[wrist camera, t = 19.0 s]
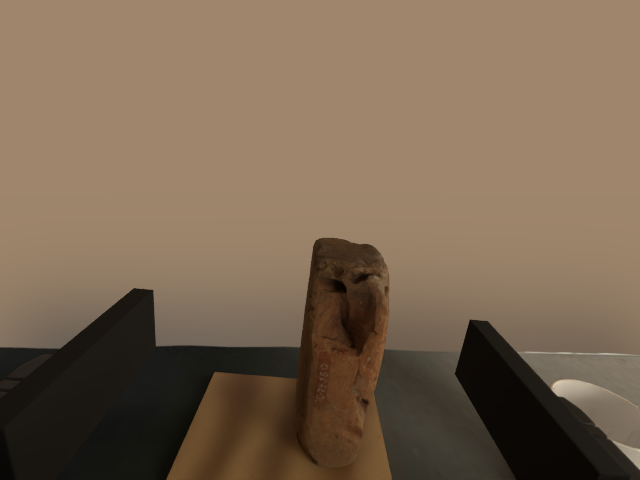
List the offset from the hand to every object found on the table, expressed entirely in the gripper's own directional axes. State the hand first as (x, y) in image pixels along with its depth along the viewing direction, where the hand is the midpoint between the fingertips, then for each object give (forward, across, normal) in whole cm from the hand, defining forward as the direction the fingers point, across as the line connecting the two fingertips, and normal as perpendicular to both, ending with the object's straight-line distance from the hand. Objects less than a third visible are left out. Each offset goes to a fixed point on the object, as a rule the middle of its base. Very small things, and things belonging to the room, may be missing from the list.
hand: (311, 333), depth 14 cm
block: (+16, +4, -22) cm, 27 cm away
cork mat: (+16, 0, -22) cm, 27 cm away
